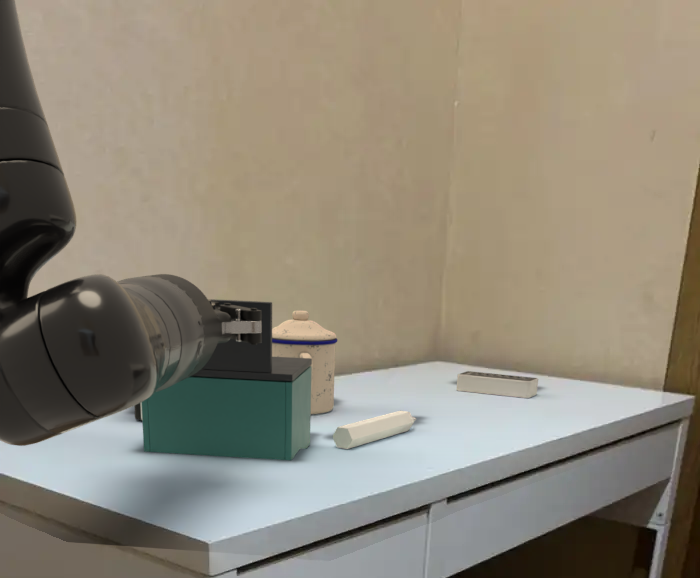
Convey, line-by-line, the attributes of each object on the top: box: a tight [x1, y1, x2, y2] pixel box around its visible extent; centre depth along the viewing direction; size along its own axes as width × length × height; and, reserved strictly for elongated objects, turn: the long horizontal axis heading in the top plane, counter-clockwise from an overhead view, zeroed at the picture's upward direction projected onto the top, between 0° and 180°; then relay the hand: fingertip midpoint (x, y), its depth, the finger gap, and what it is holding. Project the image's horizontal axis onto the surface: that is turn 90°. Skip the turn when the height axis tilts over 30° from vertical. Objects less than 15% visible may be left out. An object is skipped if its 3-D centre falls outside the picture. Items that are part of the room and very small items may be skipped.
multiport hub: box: [456, 370, 539, 399], centre depth 135 cm, size 4×11×2 cm, turn 64°
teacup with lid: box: [272, 310, 338, 415], centre depth 113 cm, size 12×9×12 cm
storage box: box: [141, 366, 312, 461], centre depth 91 cm, size 14×12×8 cm
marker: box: [332, 410, 417, 450], centre depth 102 cm, size 3×2×16 cm
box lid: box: [192, 298, 312, 381], centre depth 88 cm, size 14×12×7 cm
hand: (211, 314), depth 81 cm, fingers closed
